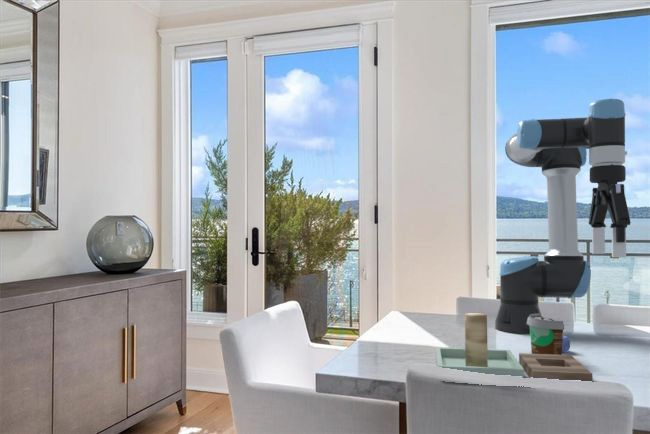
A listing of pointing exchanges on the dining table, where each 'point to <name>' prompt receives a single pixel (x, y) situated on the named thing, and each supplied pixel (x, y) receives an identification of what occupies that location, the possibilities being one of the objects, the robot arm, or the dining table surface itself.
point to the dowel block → (554, 367)
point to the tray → (497, 364)
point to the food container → (545, 335)
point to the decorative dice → (565, 344)
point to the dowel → (476, 340)
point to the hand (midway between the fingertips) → (608, 255)
